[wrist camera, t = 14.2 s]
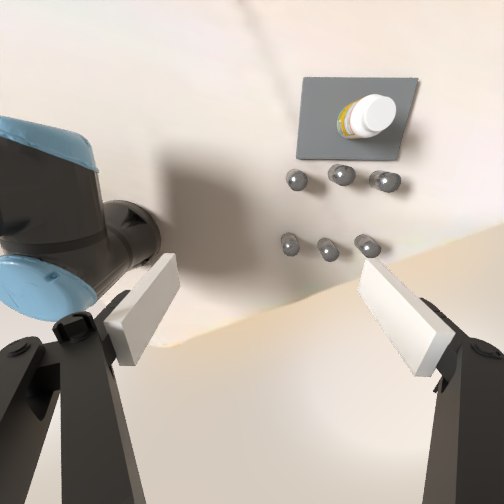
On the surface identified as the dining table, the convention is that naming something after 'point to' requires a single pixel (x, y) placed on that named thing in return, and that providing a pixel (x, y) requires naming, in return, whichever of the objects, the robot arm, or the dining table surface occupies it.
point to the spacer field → (342, 177)
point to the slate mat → (330, 106)
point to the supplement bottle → (366, 117)
